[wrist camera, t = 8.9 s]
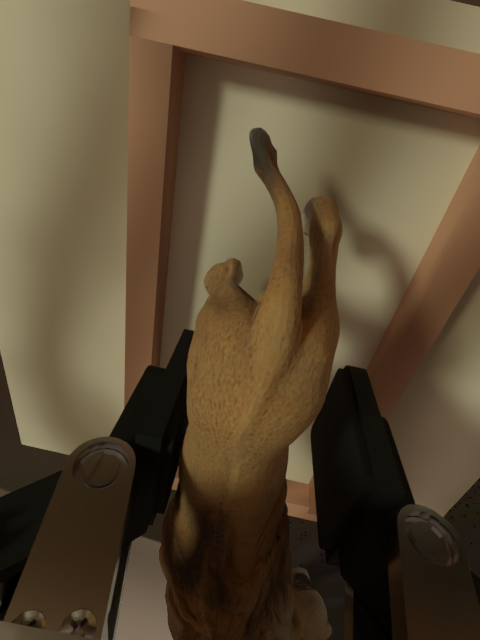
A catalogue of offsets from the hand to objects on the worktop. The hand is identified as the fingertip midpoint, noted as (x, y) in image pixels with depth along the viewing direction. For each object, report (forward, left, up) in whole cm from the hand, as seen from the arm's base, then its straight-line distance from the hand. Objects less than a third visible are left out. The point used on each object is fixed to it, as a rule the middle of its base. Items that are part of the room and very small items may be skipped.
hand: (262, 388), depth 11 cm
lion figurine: (0, -1, -1) cm, 2 cm away
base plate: (0, 0, -4) cm, 4 cm away
